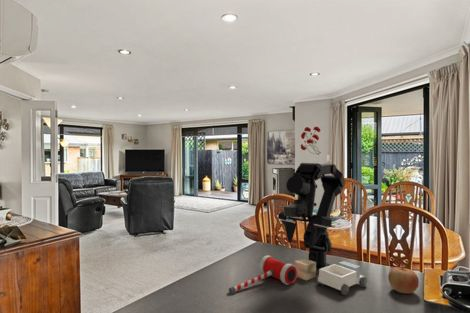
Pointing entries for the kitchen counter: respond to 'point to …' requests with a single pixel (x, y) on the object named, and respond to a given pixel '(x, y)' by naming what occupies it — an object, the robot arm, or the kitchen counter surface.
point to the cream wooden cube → (305, 269)
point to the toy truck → (341, 276)
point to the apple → (403, 280)
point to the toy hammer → (271, 273)
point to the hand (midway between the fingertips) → (300, 245)
